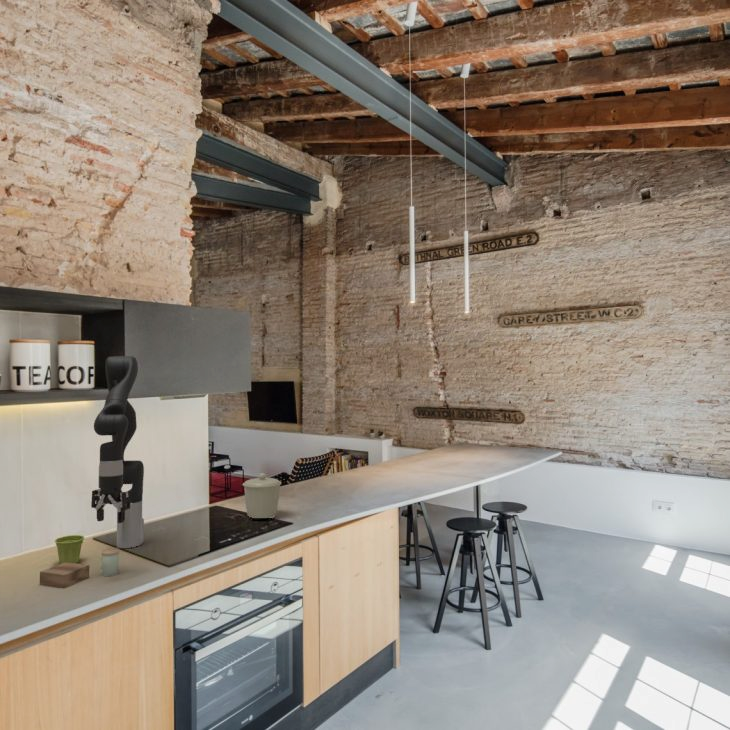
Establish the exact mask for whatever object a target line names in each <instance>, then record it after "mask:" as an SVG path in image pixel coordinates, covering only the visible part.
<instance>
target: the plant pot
mask: <svg viewBox="0 0 730 730" xmlns="http://www.w3.org/2000/svg"><path fill="white" fill-rule="evenodd" d="M84 540H85V536H84V535H81V534H80V535H79V534H73V535H65V536H62V537H58V538H56V539H55V540H54V543H55V545H56V547H57V548H56V549H57V555H58V565H59V564H62V563H65V562H70V563H77V564H79V561H80V557H81V550H82V545H83V541H84Z"/></svg>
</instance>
